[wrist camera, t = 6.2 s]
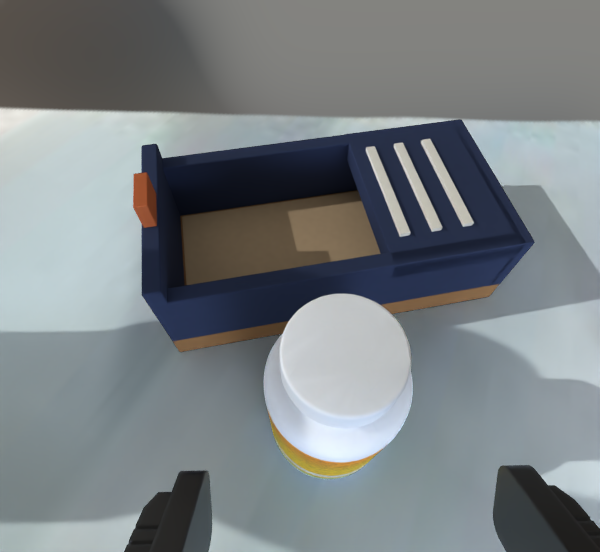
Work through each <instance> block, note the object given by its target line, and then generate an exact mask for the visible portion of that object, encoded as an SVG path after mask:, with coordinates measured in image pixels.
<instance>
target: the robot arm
mask: <svg viewBox="0 0 600 552" xmlns="http://www.w3.org/2000/svg"><path fill="white" fill-rule="evenodd" d="M493 520H494V525H495V529H496V532H497V535H498V537H499V539H500V541H501V543H502V545H503V546H504V548H505V550H506V552H600V528H599V527H598V526H597V525H596V524H595V523H594V521H591V520H590V517H589V516H588V514H587V513H586V512H585V511H584V510H583V509H582V508H581V506H580V505H579V504H578V503H577V502H576V501H575V500H574V499H573V498H571V497H570V496H569V495H567V494H566V493H564V492H563V491H562V490H560V489H559V488H557V487H556V486H555V485H552V486H548V485H547V484H546V482H545V481H544V480H543V479H542V478H541V476H540V475H539V474H538V473H537V471H536V470H535V469H534V468H533V467H532V466H530V465H516V466H501V467H500V468H499V470H498V475H497V483H496V491H495V500H494V508H493ZM211 533H212V508H211V494H210V479H209V472H208V471H180V472H179V474H178V477H177V479H176V482H175V484H174V487H173V490H172V492H158V493H157V494H156V495H155V496H154V497H153V499H152V500H151V501H150V502H149V503H148V504H147V505H146V506H145V507H144V508H143V510H142V513H141V515H140V517H139V519H138V522H137V524H136V528H135V529H134V531H133V533H132V535H131V537H130V540H129V544H128V545H127V546H126V549H125V551H124V552H208V550H209V546H210V541H211Z"/></svg>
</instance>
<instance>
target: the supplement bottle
mask: <svg viewBox="0 0 600 552" xmlns="http://www.w3.org/2000/svg"><path fill="white" fill-rule="evenodd" d="M264 395H265V402H266V407H267V410H268V414H269V418H270V422H271V427H272V431H273V435H274V438H275V441H276V443H277V445H278V447H279V449H280V451H281V452H282V454H283V456H284V457H285V458H286V459H287V460H288V462H289V463H290V464H291V465H292V466H294V467H295V468H296V469H298V470H299V471H301V472H302V473H304V474H306V475H309V476H311V477H315V478H319V479H338V478H342V477H346V476H348V475H351V474H353V473H355V472H357V471H358V470H360V469H361V468H362V467H363V466H365V465H366V464H367V463H368V462H369V461H370V460H371V459H372V458H373V457H374V456H375V455H376V454H378V453H379V452H380V451H381V450H382V449H383V448H384V447H385V446H387V445H388V444H389V443H390V442H391V441H392V440H393V439H394V437H395V436H396V435H397V434H398V432H399V431H400V429H401V428H402V426H403V424H404V422H405V420H406V418H407V416H408V414H409V410H410V407H411V403H412V396H413V380H412V373H411V350H410V345H409V341H408V338H407V336H406V334H405V332H404V330H403V328H402V326H401V325H400V323H399V322H398V321H397V319H396V318H395V317H394V316H393V315H392V314H391V313H390V312H389V311H388V310H387V309H385V308H384V307H383V306H381V305H379V304H378V303H376V302H374V301H372V300H370V299H368V298H365V297H362V296H358V295H354V294H331V295H326V296H322V297H319V298H317V299H314V300H312V301H310V302H309V303H307V304H305V305H304V306H303V307H301V308H300V309H299V310H298V311H297V312H296V313H295V314H294V315H293V316H292V318H291V319H290V320H289V322H288V324H287V325H286V327H285V330H284V332H283V334H282V335H281V336H280V337H279V338H278V339H277V341H276V342H275V344H274V345H273V347H272V349H271V351H270V354H269V356H268V359H267V362H266V366H265V371H264Z"/></svg>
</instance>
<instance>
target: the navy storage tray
mask: <svg viewBox="0 0 600 552" xmlns="http://www.w3.org/2000/svg"><path fill="white" fill-rule="evenodd" d="M133 208H134V210H135V212H136V214H137V215H138V217H139V219H140V221H141V223H142V296H143V297H144V299H145V300H146V302H147V303H148V305H149V306H150V308H151V309H152V311H153V312H154V314H155V315H156V317H157V318H158V320H159V321H160V323H161V324H162V326H163V327H164V329H165V330H166V332H167V333H168V335H169V336H170V338H171V339H172V341H173V343H174V344H175V346H176V347H177V348H178V350H179V351H180V352H183V351H188V350H194V349H200V348H205V347H211V346H216V345H222V344H227V343H233V342H239V341H244V340H250V339H255V338H261V337H266V336H272V335H278V334H283V332H284V330H285V327H286V325H287V324H288V322H289V320H290V319H291V318H292V316H293V315H294V314H295V313H296V312H297V311H298V310H299V309H300V308H301V307H303V306H304V305H305V304H307V303H309V302H310V301H312V300H314V299H317V298H319V297H322V296H326V295H331V294H354V295H358V296H362V297H365V298H368V299H370V300H372V301H374V302H376V303H378V304H379V305H381V306H383V307H384V308H385V309H387V310H388V311H389V312H390V313H391V314H395V313H400V312H406V311H411V310H417V309H422V308H428V307H434V306H439V305H445V304H450V303H456V302H462V301H467V300H473V299H478V298H484V297H489V296H490V295H491V294H492V292H493V291H494V290H495V289H496V288H497V286H498V285H499V284H500V283H501V282H502V281H503V279H504V278H505V277H506V276H507V275H508V274H509V272H510V271H511V270H512V269H513V268H514V266H515V265H516V264H517V263H518V262H519V260H520V259H521V258H522V257H523V256H524V254H525V253H526V252H527V251H528V250H529V249H530V247H531V246H532V245H533V244H534V240H533V238H532V237H531V235H530V233H529V232H528V230H527V228H526V227H525V225H524V223H523V222H522V220H521V218H520V217H519V215H518V213H517V212H516V210H515V208H514V207H513V205H512V203H511V202H510V200H509V198H508V197H507V195H506V193H505V192H504V190H503V188H502V187H501V185H500V183H499V182H498V180H497V178H496V177H495V175H494V173H493V172H492V170H491V168H490V167H489V165H488V163H487V162H486V160H485V158H484V157H483V155H482V153H481V152H480V150H479V148H478V147H477V145H476V143H475V142H474V140H473V138H472V137H471V135H470V133H469V132H468V130H467V128H466V127H465V125H464V123H463V122H462V120H453V121H445V122H437V123H429V124H422V125H414V126H406V127H399V128H391V129H383V130H375V131H368V132H360V133H352V134H346V135H339V136H332V137H324V138H316V139H308V140H301V141H293V142H285V143H278V144H270V145H262V146H254V147H247V148H239V149H231V150H224V151H216V152H208V153H200V154H193V155H185V156H177V157H170V158H162V157H161V154H160V151H159V149H158V146H157V144H151V145H143V146H142V173H138V174H134V196H133Z"/></svg>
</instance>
